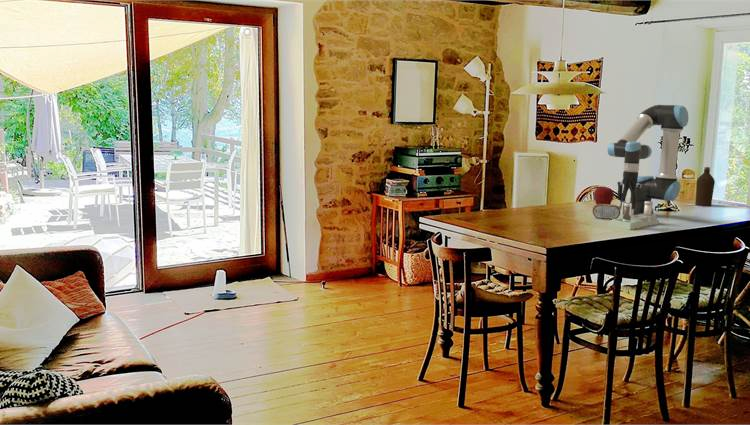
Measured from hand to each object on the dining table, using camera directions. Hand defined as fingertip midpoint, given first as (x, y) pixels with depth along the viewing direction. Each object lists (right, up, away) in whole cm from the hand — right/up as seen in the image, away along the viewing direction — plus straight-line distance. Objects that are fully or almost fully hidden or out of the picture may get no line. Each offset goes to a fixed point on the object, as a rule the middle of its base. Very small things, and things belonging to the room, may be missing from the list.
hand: (627, 214), depth 365 cm
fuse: (+16, -3, +13) cm, 21 cm away
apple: (+9, +4, +66) cm, 66 cm away
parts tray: (0, -7, +1) cm, 7 cm away
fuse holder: (+12, -5, +11) cm, 17 cm away
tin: (-3, -3, +24) cm, 24 cm away
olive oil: (+80, +5, +81) cm, 114 cm away
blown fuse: (0, -4, +1) cm, 4 cm away
